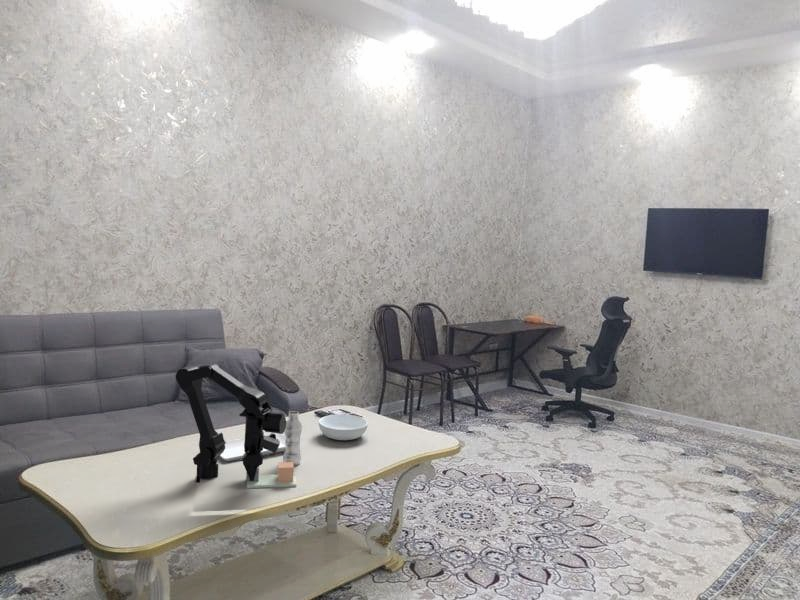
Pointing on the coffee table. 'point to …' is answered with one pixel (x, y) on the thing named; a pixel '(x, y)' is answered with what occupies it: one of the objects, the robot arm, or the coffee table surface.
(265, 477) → the pale green platform
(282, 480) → the terracotta block
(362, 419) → the serving bowl
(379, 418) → the coffee table surface
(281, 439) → the tray
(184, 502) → the coffee table surface
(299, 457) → the plastic bottle
